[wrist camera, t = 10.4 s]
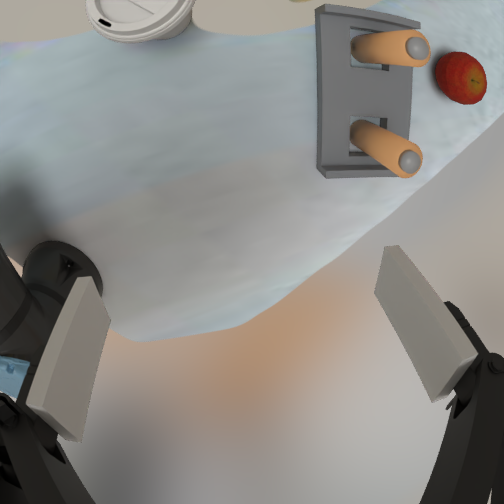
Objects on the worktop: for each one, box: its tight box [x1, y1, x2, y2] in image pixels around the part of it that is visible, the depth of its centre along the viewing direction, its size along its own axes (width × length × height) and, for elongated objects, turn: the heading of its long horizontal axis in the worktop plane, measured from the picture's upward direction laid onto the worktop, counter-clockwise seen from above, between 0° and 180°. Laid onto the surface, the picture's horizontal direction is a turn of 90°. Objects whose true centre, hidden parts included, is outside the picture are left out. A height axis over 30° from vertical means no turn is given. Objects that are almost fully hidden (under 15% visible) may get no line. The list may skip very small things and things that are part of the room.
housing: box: [315, 4, 431, 179], centre depth 29 cm, size 13×22×13 cm, turn 3°
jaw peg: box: [350, 120, 423, 178], centre depth 33 cm, size 4×4×13 cm
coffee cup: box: [85, 0, 196, 43], centre depth 21 cm, size 10×10×15 cm
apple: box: [435, 52, 487, 105], centre depth 30 cm, size 8×8×8 cm
